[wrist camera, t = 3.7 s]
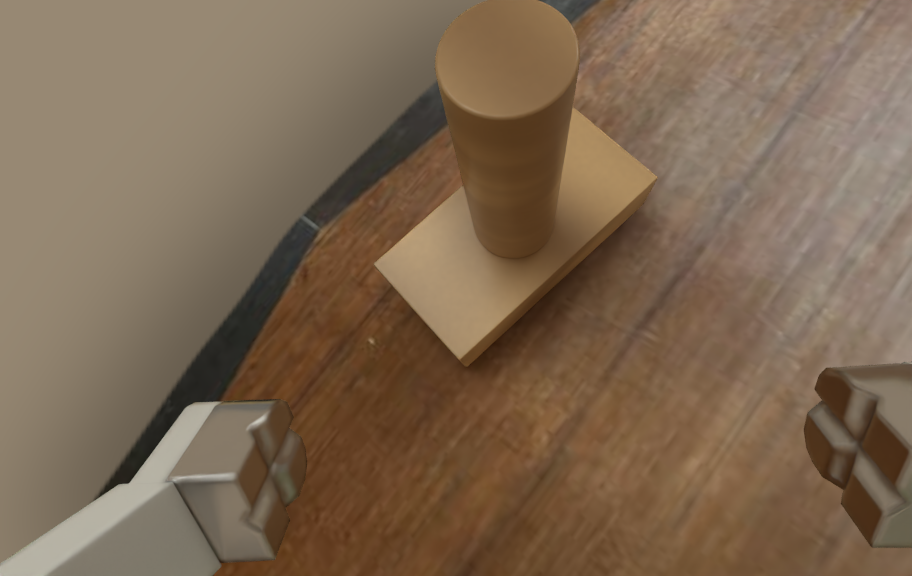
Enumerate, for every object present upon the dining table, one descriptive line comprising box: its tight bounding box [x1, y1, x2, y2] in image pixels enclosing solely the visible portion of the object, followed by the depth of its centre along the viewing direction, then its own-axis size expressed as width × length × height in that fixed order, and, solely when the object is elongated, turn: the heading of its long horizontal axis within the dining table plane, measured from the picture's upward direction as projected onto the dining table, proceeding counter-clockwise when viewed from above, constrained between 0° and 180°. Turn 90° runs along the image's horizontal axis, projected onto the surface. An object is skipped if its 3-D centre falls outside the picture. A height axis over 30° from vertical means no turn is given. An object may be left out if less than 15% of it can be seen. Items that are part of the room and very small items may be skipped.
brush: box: [373, 0, 658, 367], centre depth 16 cm, size 10×5×12 cm, turn 132°
